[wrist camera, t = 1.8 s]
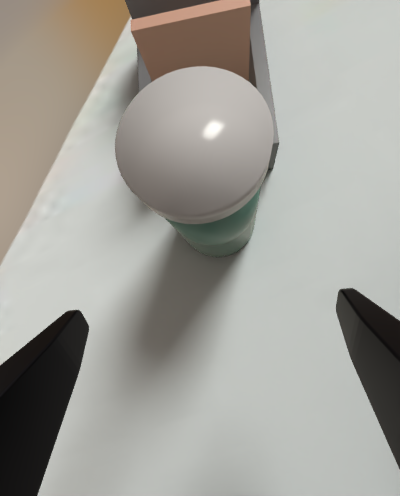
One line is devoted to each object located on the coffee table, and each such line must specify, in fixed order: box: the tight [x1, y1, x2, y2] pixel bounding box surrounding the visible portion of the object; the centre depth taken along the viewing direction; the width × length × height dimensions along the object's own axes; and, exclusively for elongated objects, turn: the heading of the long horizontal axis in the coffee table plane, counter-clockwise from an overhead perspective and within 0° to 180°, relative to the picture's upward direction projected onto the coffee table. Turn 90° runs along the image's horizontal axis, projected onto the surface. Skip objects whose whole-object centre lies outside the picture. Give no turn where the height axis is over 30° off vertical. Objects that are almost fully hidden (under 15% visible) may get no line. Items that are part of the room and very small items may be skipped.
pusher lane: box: [125, 0, 279, 169], centre depth 22 cm, size 15×10×7 cm, turn 4°
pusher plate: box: [131, 0, 251, 82], centre depth 20 cm, size 1×7×9 cm, turn 94°
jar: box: [115, 66, 274, 257], centre depth 17 cm, size 6×6×12 cm
